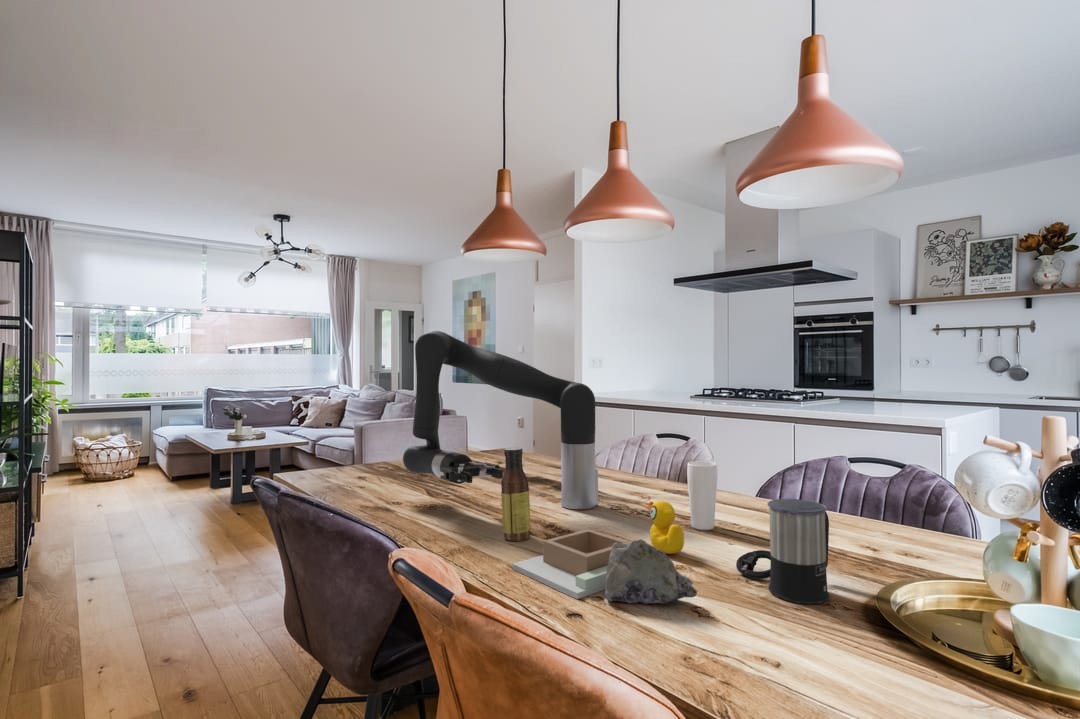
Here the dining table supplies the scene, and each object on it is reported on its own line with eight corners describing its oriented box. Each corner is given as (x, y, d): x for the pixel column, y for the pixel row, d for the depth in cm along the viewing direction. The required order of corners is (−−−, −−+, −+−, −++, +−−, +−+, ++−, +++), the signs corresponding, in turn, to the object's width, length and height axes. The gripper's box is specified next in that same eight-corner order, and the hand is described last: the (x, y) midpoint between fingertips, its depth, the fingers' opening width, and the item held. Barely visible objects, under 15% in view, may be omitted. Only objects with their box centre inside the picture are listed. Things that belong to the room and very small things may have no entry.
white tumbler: (685, 530, 131) (685, 465, 131) (689, 522, 137) (689, 460, 137) (716, 533, 128) (715, 466, 128) (719, 525, 134) (718, 462, 135)
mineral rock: (701, 606, 90) (700, 543, 90) (658, 627, 83) (657, 558, 83) (637, 583, 100) (637, 525, 100) (594, 599, 93) (594, 538, 93)
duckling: (639, 544, 121) (638, 497, 121) (661, 541, 123) (660, 495, 123) (667, 561, 110) (667, 510, 110) (691, 558, 112) (691, 507, 112)
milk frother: (825, 610, 88) (824, 514, 88) (722, 589, 96) (721, 502, 96) (834, 580, 100) (833, 496, 100) (741, 564, 108) (740, 486, 109)
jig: (595, 545, 120) (595, 521, 120) (663, 568, 106) (663, 541, 106) (512, 569, 107) (512, 542, 107) (577, 599, 93) (577, 568, 93)
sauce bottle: (534, 535, 128) (534, 446, 128) (524, 543, 122) (524, 451, 122) (507, 532, 130) (507, 445, 130) (496, 540, 124) (496, 449, 124)
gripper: (427, 454, 143) (460, 463, 130) (475, 449, 152) (511, 457, 139) (427, 484, 143) (460, 496, 130) (475, 477, 152) (510, 488, 139)
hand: (486, 476), depth 135 cm, fingers open, 8 cm apart
